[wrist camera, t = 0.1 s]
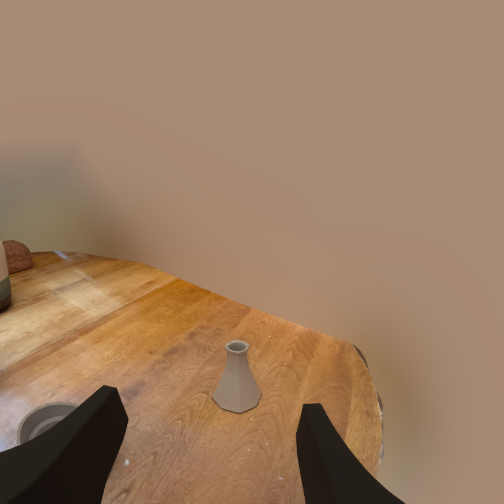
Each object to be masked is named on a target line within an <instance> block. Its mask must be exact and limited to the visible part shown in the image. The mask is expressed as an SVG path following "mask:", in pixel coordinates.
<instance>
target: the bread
mask: <svg viewBox="0 0 504 504" xmlns="http://www.w3.org/2000/svg"><path fill="white" fill-rule="evenodd" d="M2 244H3V246H4V250H5V255H6V262H7V268H8V274H11V273H15V272H18V271H21V270H25V269H29V268H31V267H32V260H31V257H30V251H29V249H28V248H27V247H26V246H25V245H24V244H22V243H20V242H17V241H14V240H9V241H3V242H2Z"/></svg>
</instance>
